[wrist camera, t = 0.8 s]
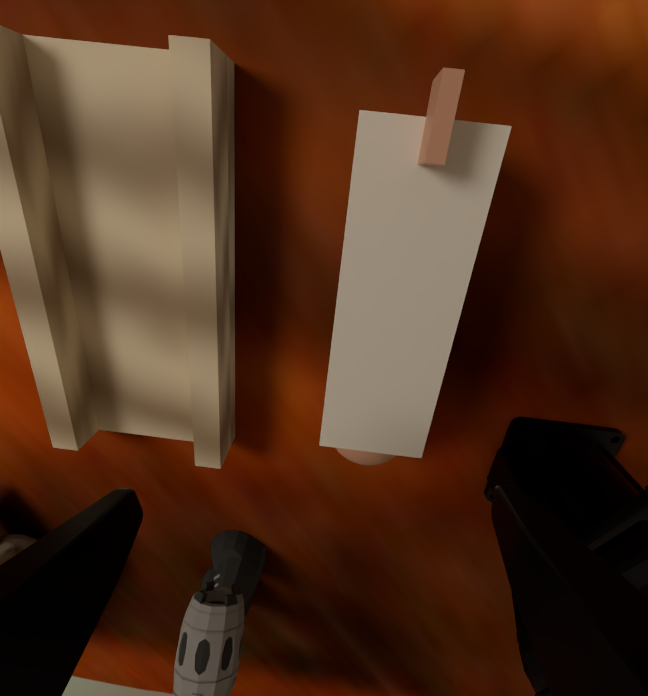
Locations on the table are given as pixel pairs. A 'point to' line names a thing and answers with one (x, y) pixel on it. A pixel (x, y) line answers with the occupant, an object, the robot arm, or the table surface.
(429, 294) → the white bar with tab
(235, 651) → the robot
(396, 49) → the table surface
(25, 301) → the cradle
